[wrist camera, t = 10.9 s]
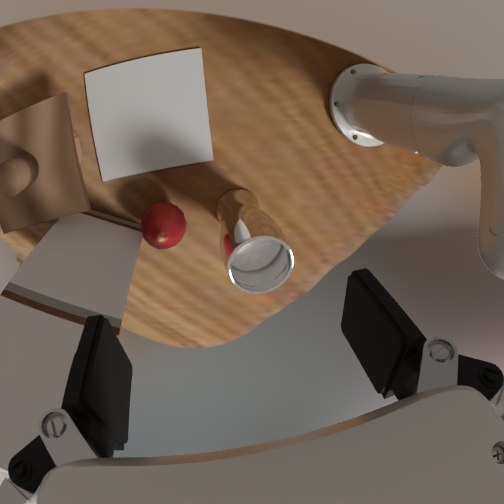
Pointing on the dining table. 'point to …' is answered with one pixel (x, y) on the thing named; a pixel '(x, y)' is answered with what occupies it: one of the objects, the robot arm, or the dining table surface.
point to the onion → (163, 225)
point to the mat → (149, 114)
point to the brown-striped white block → (57, 315)
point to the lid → (39, 166)
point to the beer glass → (252, 244)
